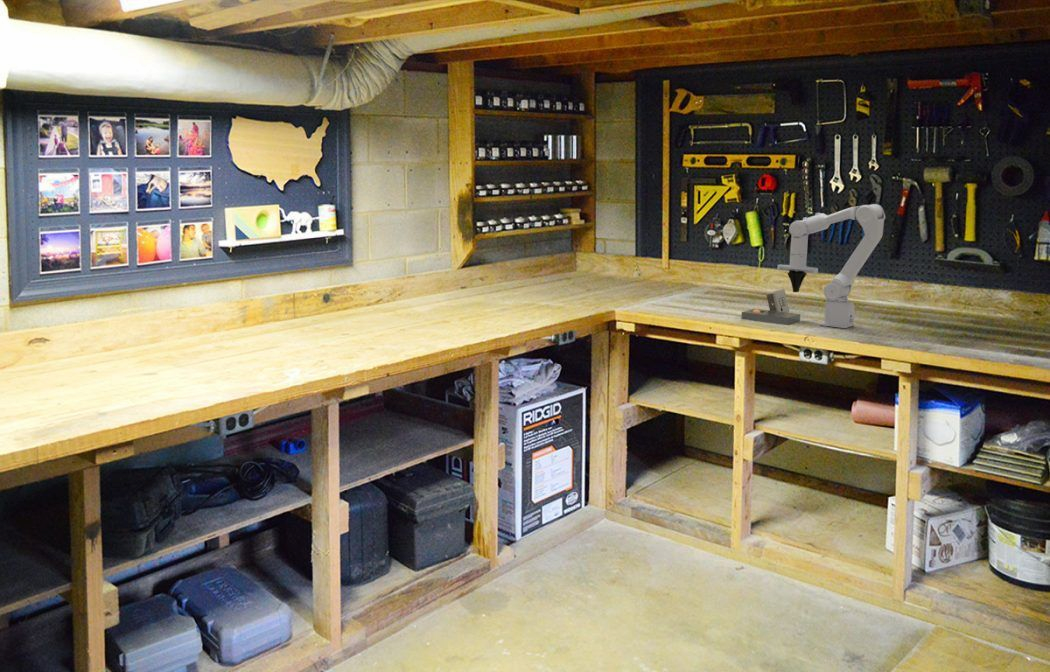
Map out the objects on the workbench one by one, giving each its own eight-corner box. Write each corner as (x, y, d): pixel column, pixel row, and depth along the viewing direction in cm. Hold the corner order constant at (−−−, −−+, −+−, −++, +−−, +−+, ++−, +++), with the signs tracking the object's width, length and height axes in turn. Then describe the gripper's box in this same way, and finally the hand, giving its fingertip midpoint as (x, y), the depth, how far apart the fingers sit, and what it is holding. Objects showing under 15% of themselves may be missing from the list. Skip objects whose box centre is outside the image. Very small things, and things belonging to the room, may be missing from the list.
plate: (799, 321, 343) (800, 314, 342) (787, 324, 335) (788, 317, 335) (754, 315, 354) (754, 308, 354) (741, 318, 347) (741, 312, 346)
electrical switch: (779, 316, 353) (778, 291, 351) (766, 316, 356) (765, 291, 355) (789, 313, 360) (789, 288, 359) (776, 313, 363) (776, 288, 362)
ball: (752, 312, 351) (758, 319, 350) (748, 313, 348) (754, 320, 347) (758, 307, 349) (764, 313, 348) (754, 308, 346) (760, 314, 345)
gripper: (822, 254, 338) (819, 292, 341) (784, 251, 347) (781, 288, 350) (814, 256, 333) (811, 294, 335) (775, 253, 342) (773, 290, 344)
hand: (795, 291), depth 342 cm, fingers closed
